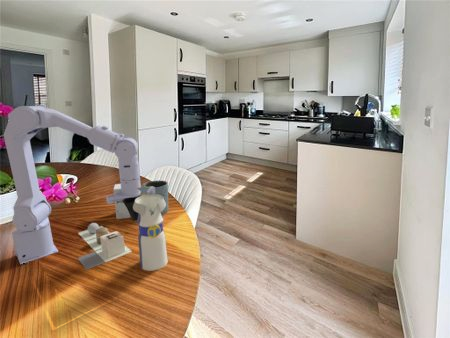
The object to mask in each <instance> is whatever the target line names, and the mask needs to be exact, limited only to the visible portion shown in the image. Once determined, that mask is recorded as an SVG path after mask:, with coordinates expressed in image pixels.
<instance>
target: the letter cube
mask: <svg viewBox="0 0 450 338" xmlns="http://www.w3.org/2000/svg"><path fill="white" fill-rule="evenodd" d="M100 239H101V246H102V252H103V253H104V254H105V255H106V256H107V257H108V258H110V257H113V256H115V255H118V254H120V253H123V252H125V246H126V245H125V238H124V236H123V234H121V233H120V232H119V231H117V230H116V231H112V232H110V233H108V234H106V235H103V236H100Z"/></svg>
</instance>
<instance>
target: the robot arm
mask: <svg viewBox="0 0 450 338" xmlns="http://www.w3.org/2000/svg"><path fill="white" fill-rule="evenodd" d="M7 117H8V119H7V120H8V122H7V124H6V127H5V129H4V133H3V137H4V138H3V139H4V144H5V148H6V152H7V156H8V160H9V164H10V165H9V166H10V170H11V174H12V179H13V182H14V187H15V191H16V196H17V199H16V201H15V203H14V205H13V207H12V208H13V209H12V210H13V215H12V218H11V219H12V224H13V226H14V227H15V228H16V230H14V231H11V236H12V240H13V244H14V249H15V250H14V254H15V257H17V259H18V262H19V264H20V265H21V264H22V265H24V264H23V263H25V264H27V263H29V261H30V262H32V261H35V260H39V259H42V258H44V257H47V256H49V255H53V254H56V253H58V252H59V250H58V248H57V247H56V245H55V244H54V241H53V240H54V239H53V235H52V229H51V224H50V220H49V216H50V215H51V214H52V206H51V205H50V203H49V202H48V200H47V199H46V198H47V197H46V195H45V194H43V193H42V192H41V189H40V185H39V181H38V175H37V170H36V166H35V165H36V164H35V160H34V156H33V150H32V145H31V139H32V138H34V136H36V135H37V133H38V132H41V131H42V130H44V129H47V128H56V127H57V128H60V129H62V130H65V131H69V132H71V133H74V134H76V135H78V136H82V137H84V138H87V140H88V141H89V143H90V144H91V145H93V146H94V147H97V148H100V149H102V150H104V151H107V152H110V153H113V154H114V155H115V156H116V157H117V159H118V171H119V172H118V173H119V181H120V183H119V184H121V192H119V193H116V194H114V193H113V194H110V195H107V196H105V199H106V203H107V204H108V205H112V204H113V203H115V202H117V201H121V200H122V202H123V203H124V204H125V206H126V208H127V209H128V211H129V214H130V220H132V221H133V222H135V221H136V222H137V220H138V217H139V214H138V213H137V212H135V211H134V209H133V205H134V202H135V199H136V198H138V197H140V192H141V191H140V190H138V189H137V188H139V187H141V186H142V183H141V175H140V174H141V172H140V165H139V164H140V163H139V156H138V153H137V152H138V150H139V144H138V141H136V139H135V138H133V137H132V136H125V134H124V133H117V132H115V131H112V130H111V129H109V126H106V125H103V126H100V125H97V126H94V127H93V126H90V125H88V124H86V123H84V122H81V121H79V120H77V119H75V118H73V117H71V116H69V115H67V114H65V113H64V112H63V113H62V112H60V111H59V110H56V109H54V108H48V107H47V106H45V105H42V104H41V105H40V104H39V105H30V106H29V105H21V106H20V105H19V106H17V107H15V108H14V109H13V110H12V111H11V112H9V113H8V114H7ZM147 192H148V194H151V193H152V194H154V193H155V187H153V186H151V188H150V189H149V190H148V191H147ZM144 195H146V194H143V195H141V196H144Z"/></svg>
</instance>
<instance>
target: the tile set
mask: <svg viewBox="0 0 450 338" xmlns="http://www.w3.org/2000/svg"><path fill="white" fill-rule="evenodd" d="M98 226H99V229H100V228H105V227H104V226H103V225H98ZM77 233H78V235H79V236H80V237H81V238H82V239H83V240H84V241H85V242H86V243H87V244H88V246H90V248H91V249H92V250H93V251H94V252H96V253H97V254H98V255H99V256H100V257H101V258H102V259H103V260H104V261H105V263H108V262H110V261H112V260H116V259H118V258H120V257H122V256H123V257H124V256H126V255H127V254H130V253H132V252H133V250H131V249H130V248H129V247H128V246H126V245H125V252H123V253H120V254H118V255H115V256H113V257H110V258H108V257H107V256H106V255H105V254H104V253H103V252H102V246H101V244H97V238H96V233H90V232H89V231H88V229H85V230H83V231H79V232H77ZM109 233H111V232H110V231H109V230H108V234H109Z"/></svg>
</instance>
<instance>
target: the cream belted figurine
mask: <svg viewBox="0 0 450 338" xmlns="http://www.w3.org/2000/svg"><path fill="white" fill-rule="evenodd" d="M144 183H145V182H143V183H141V187H139V188H137V189H138V190H140V191H141V192H140V197H138V198H136V199H135V202H134V205H133V209H134V211H135V212H137V213H138V220H136V224H137V225H138V231H139V232H138V239H137V240H138V241H137V242H138V253H139V254H138V255H139V267H140V269H142V270H144V271H151V272H152V271H157V270H160V269H163V268H164V267H165V266H166V265H167V264H168V260H169V259H168V253H167V242H166V234H165V230H164V227H163V226H164V223H163V221H164V216H163V214H162V215H161V212H162V211H163V210H164V209H165V207H166V203H165V200H164V198H163V197H162V196H161V195H156V194H150V195H148V192H147V191H148V190H149V189H150V188H151V187H145V185H144ZM143 194H146V195H143ZM141 195H143V196H141Z"/></svg>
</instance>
